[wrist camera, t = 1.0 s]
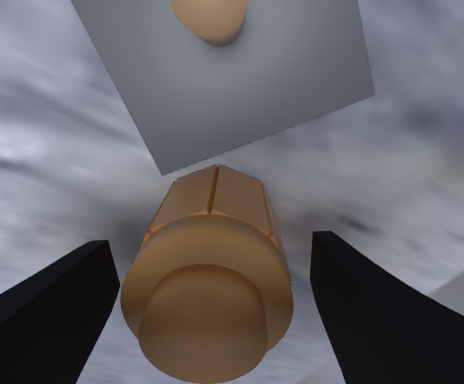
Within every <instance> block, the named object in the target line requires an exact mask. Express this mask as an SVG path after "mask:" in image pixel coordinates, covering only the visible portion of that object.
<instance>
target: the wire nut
mask: <svg viewBox="0 0 464 384" xmlns="http://www.w3.org/2000/svg"><path fill="white" fill-rule="evenodd" d="M290 281H292V280H291V276H290V272H289V268H288V264H287V260H286V256H285V252H284V248H283V244H282V240H281V236H280V233H279V229H278V225H277V221H276V217H275V215H274V212H273V209H272V207H271V204H270V201H269V199H268V196H267V194H266V191H265V188H264V186H263V184H261V183H260V181H259V180H257V179H254V178H252V177H249V176H247V175H245V174H242V173H240V172H238V171H235V170H233V169H230V168H228V167H226V166H223V165H221V164H220V166H219V169H218V167H217V165H216V164H215V165H213V166H210V167H207V168H205V169H202V170H199V171H197V172H194V173H191V174H189V175H186V176H183V177H181V178H178V179H176V181H175V182H173V184H172V186H171V188H170V190H169V191H168V193H167V195H166V197H165V199H164V201H163V202H162V204H161V206H160V208H159V210H158V211H157V213H156V215H155V217H154V219H153V221H152V222H151V224H150V226H149V228H148V230H147V231H146V234H145V237H144V239H143V242H142V245H141V248H140V250H139V253H138V255H137V257H136V259H135V260H134V262H133V264H132V266H131V268H130V270H129V272H128V274H127V276H126V278H125V280H124V282H123V286H122V290H121V299H120V300H121V309H122V313H123V316H124V319H125V321H126V323H127V325H128V327H129V328H130V330H131V331H132V333H133V334H134V335H135V336H136V337H137V339H138V341H139V344H140V347H141V350H142V352H143V354H144V355H145V357H146V358H147V359H148V360H149V361H150V363H152V364H153V365H154V366H155V367H156V368H157V369H159V370H160V371H162V372H164V373H165V374H167V375H169V376H171V377H174V378H176V379H179V380H183V381H187V382H192V383H200V384H214V383H222V382H227V381H231V380H234V379H237V378H239V377H241V376H243V375H245V374H247V373H249V372H250V371H251V370H253V369H254V368H255V367H256V366H257V365H258V364H259V363H260V362H261V360H262V359H263V357H264V355H265V353H266V352H267V351H269V350H270V349H272V348H273V347H274V346H275V345H276V344H277V343H278V342H279V341H280V340H281V338H282V337H283V336H284V334H285V333H286V331H287V329H288V327H289V325H290V323H291V319H292V315H293V297H292V292H291V288H290V286H291V283H290Z"/></svg>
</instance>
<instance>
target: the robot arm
mask: <svg viewBox="0 0 464 384" xmlns="http://www.w3.org/2000/svg"><path fill="white" fill-rule="evenodd" d="M310 282H311V286H312V290H313V294H314V298H315V302H316V306H317V308H318V311H319V314H320V316H321V319H322V322H323V324H324V327H325V330H326V332H327V335H328V337H329V340H330V342H331V345H332V348H333V350H334V353H335V355H336V358H337V360H338V363H339V366H340V368H341V371H342V373H343V376H344V379H345V383H346V384H464V316H463V315H461V314H459V313H457V312H455V311H453V310H451V309H449V308H447V307H446V306H444V305H442V304H440V303H438V302H437V301H435V300H433V299H431V298H429V297H428V296H426V295H424V294H422V293H420V292H419V291H417V290H415V289H414V288H412V287H410V286H409V285H407V284H405V283H404V282H402V281H401V280H399V279H398V278H396V277H395V276H393V275H391V274H390V273H388V272H387V271H385V270H384V269H383V268H381V267H380V266H378V265H377V264H375V263H374V262H372V261H371V260H370V259H368V258H367V257H366V256H364V255H363V254H361V253H360V252H359V251H357V250H356V249H355V248H353V247H352V246H351V245H349V244H348V243H347V242H345V241H344V240H343V239H342V238H340V237H339V236H338V235H336V234H335V233H333V232H332V231H314V232H313V238H312V253H311V268H310ZM119 288H120V282H119V279H118V275H117V271H116V268H115V264H114V260H113V256H112V253H111V249H110V245H109V242H108V240H98V241H90V242H88V243H86V244H84V245H82V246H80V247H78V248H77V249H75V250H73V251H72V252H70V253H68V254H67V255H65V256H63V257H62V258H60V259H59V260H57V261H55V262H54V263H52V264H50V265H49V266H47V267H46V268H44V269H42V270H41V271H39V272H37V273H36V274H34V275H32V276H31V277H29V278H27V279H26V280H24V281H22V282H20V283H19V284H17V285H15V286H13V287H12V288H10V289H8V290H7V291H5V292H3V293H1V294H0V384H76V382H77V380H78V378H79V376H80V374H81V372H82V370H83V368H84V366H85V364H86V362H87V360H88V358H89V356H90V354H91V352H92V350H93V348H94V346H95V344H96V342H97V340H98V338H99V336H100V334H101V332H102V330H103V328H104V326H105V324H106V322H107V320H108V318H109V316H110V314H111V312H112V309H113V306H114V303H115V301H116V298H117V295H118V291H119Z"/></svg>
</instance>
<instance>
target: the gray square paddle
mask: <svg viewBox="0 0 464 384" xmlns="http://www.w3.org/2000/svg"><path fill="white" fill-rule="evenodd" d="M71 2H72V4H73V6H74V8H75V10H76V12H77V14H78V15H79V17H80V19H81V21H82V23H83V25H84V27H85V29H86V31H87V33H88V35H89V37H90V38H91V40H92V42H93V44H94V46H95V48H96V50H97V52H98V54H99V56H100V58H101V60H102V61H103V63H104V65H105V67H106V69H107V71H108V73H109V75H110V77H111V79H112V81H113V82H114V84H115V86H116V88H117V90H118V92H119V94H120V96H121V98H122V100H123V102H124V104H125V105H126V107H127V109H128V111H129V113H130V115H131V117H132V119H133V121H134V123H135V125H136V127H137V128H138V130H139V132H140V134H141V136H142V138H143V140H144V142H145V144H146V146H147V148H148V149H149V151H150V153H151V155H152V157H153V159H154V161H155V163H156V165H157V167H158V169H159V171H160V172H161V174H162V176H163V175H165V174H168V173H171V172H173V171H176V170H179V169H181V168H184V167H187V166H189V165H192V164H194V163H197V162H200V161H202V160H205V159H208V158H210V157H213V156H215V155H218V154H221V153H223V152H226V151H229V150H231V149H234V148H237V147H239V146H242V145H244V144H247V143H250V142H252V141H255V140H258V139H260V138H263V137H266V136H268V135H271V134H273V133H276V132H279V131H281V130H284V129H287V128H289V127H292V126H295V125H297V124H300V123H302V122H305V121H308V120H310V119H313V118H316V117H318V116H321V115H323V114H326V113H329V112H331V111H334V110H337V109H339V108H342V107H345V106H347V105H350V104H352V103H355V102H358V101H360V100H363V99H366V98H368V97H371V96H374V95H375V93H374V87H373V82H372V76H371V71H370V66H369V60H368V55H367V49H366V44H365V39H364V33H363V28H362V23H361V17H360V12H359V6H358V1H357V0H71Z"/></svg>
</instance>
